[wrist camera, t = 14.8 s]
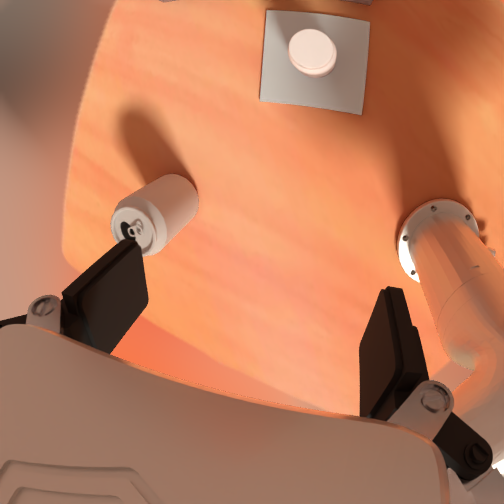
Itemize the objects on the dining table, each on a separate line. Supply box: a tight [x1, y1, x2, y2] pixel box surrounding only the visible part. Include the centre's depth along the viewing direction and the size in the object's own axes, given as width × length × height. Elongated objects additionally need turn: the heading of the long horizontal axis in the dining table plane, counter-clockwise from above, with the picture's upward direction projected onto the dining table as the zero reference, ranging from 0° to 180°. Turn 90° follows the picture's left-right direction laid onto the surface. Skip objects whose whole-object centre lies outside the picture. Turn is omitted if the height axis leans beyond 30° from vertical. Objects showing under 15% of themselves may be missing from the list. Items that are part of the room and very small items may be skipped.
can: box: [111, 174, 199, 257], centre depth 37 cm, size 8×8×12 cm
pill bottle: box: [288, 29, 337, 78], centre depth 25 cm, size 5×5×8 cm
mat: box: [260, 10, 370, 115], centre depth 29 cm, size 12×12×1 cm
